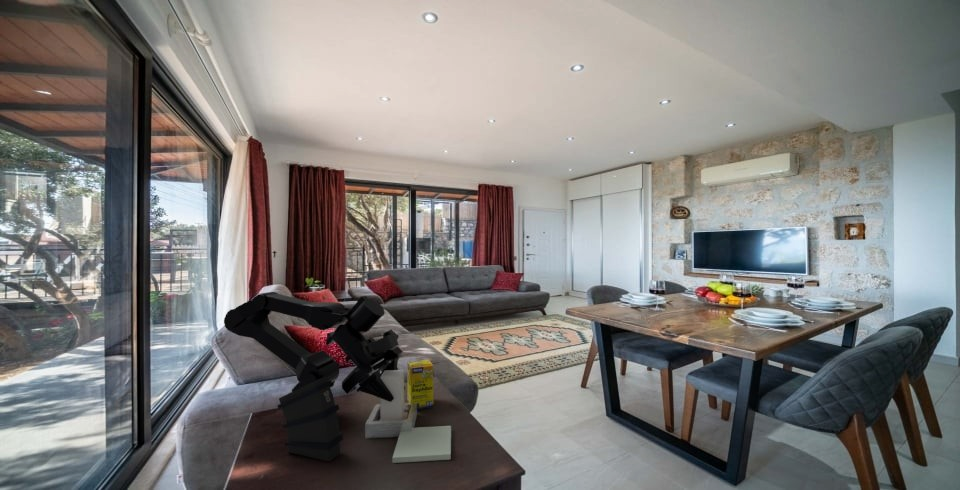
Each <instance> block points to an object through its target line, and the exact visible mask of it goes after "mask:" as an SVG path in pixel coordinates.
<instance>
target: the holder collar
mask: <svg viewBox="0 0 960 490" xmlns="http://www.w3.org/2000/svg"><path fill="white" fill-rule="evenodd" d="M407 412H408V418H407V420H390V421H379V420H380V418H381V403H377V404H375V405H374V407H373V408H372V411H371V412H370V414H369V417H368V419H367V420H366V422H365V425H364V434H365V435H364V437H365V439H377V438H378V439H380V438H397V437H398V438H399V435H400V432H407V431H412V429H413V428H415V426H416V425H415V424H416V420H417V417H418V410H417V402H413V403H408V402H404V413H407Z"/></svg>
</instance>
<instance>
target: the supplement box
mask: <svg viewBox="0 0 960 490" xmlns="http://www.w3.org/2000/svg"><path fill="white" fill-rule="evenodd" d="M406 381H407V403H413V402H417V411H419V410H422V409H423V410H425V409H429V408H431V409H432V408H434V364H433V362H431V361H430V359H422V360H413V361H412V360H411V361H407V380H406Z"/></svg>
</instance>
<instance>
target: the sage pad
mask: <svg viewBox="0 0 960 490" xmlns="http://www.w3.org/2000/svg"><path fill="white" fill-rule="evenodd" d="M451 455H452V425H441V426H440V425H439V426H436V425H435V426H422V427H421V426H420V427H419V426H418V427H414V428H413V429H412V431H407V432H400V435H399V437H398V438H397V442H396V445H395V447H394V451H393V453H392V464H396V463H400V464H401V463H413V462H415V463H417V462H429V461H430V462H431V461H447V460H448V461H449V460H451V459H452V458H451Z"/></svg>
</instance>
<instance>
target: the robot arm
mask: <svg viewBox="0 0 960 490" xmlns="http://www.w3.org/2000/svg"><path fill="white" fill-rule="evenodd" d="M272 312H273V313H274V312H275V313H278V314H283V315H286V316H291V317H295V318H298V319H302V320H303V321H305V322H306V323H307V324H308V325H310V326H311V327H313V328H315V329H316V330H319V331H326V330H328V329H332V328H335V327H336V328H335V329H334V330H333V331H331V332H327V333H326V340H325V345H326V346H330V345H332V344H334V343H335V344H336V345H337V346H338V347H339V348H340V349H341V351H342V352H343V353H344V354H345V355H346V357H345V358H344V361H346V363H350V362H352V363H353V364H354V366H355V367H354V368H353V369H352V371H350V373H349V374H347V376H346V377H345V378H344V379H343V380H342V381H341V389H342V391H344V393H345V394H346V395H347V396H348V395H349V394H351V393H352V392H354V391H355V390H356V392H357V393H359V392H362V393H365V394H368V395H371V396H375V397H377V398H379V399H380V398H381V399H384V400H387V401H389V402H391V401H392V400H393V399H394V397H393V396H392V394H391V392H390V391H389V390H388V388H387V387H386V385H385V384H384V383H383V381H382V380H381V378H380V377H381V376H382V374H383V372H384V371H386V370H399V368H398V362H399V360H400V355H402V354H403V350H402V349H401V348H400V347H399V341H398V339H399V338H400V337H399V334H397V333H396V332H395V331H393V329H389V330H387V331H385V332H383V333H382V337H381V338H379V339H377V340H375V339H374V338H373V337H369V338H367V337H366V336H365V334H364V333H363V332H365V333H366V332H370V331H371V329H372V328H373V327H374V326H375V325H376V323H378V321H380V319H382V317H383V316H384V315H385V313H386V311H385V309H384V308H383V306H382V305H381V304H380V303H379V302H377V301H376V300H374V299H371V298H369V297H368V296H367V295H364V296H360V297H359V298H358V300H357V301H356V303H355V304H354V305H353V306H352V308H351V307H345V304H343V303H341V302H335V301H334V302H331V301H329V302H328V301H327V302H326V301H325V302H321V301H320V302H315V301H314V302H313V301H308V300H306V299H302V298H297V297H293V296H288V295H284V294H280V293H278V292H276V291H268V292H262V293H258V294H257V295H255V296H254V297H253V298H251V299H249V300H247V301H246V302H244V303H242V304H240V305H239V306H236V307H235V308H232V309H229V310H228V311H227V313H225V316H224V318H223V324H224V327H225V328H226V330H227V331H229V332H230V333H231V334H232V333H233V334H234V335H237V336H240V337H245V338H250V339H253V340H254V341H256V342H257V343H258V344H260V345H261V346H262V347H264V348H265V349H267V350H268V351H269V352H271V354H273V355H275V356H276V357H277V358H279V360H282V361H283V362H284V363H285V364H287V365H288V366H289V367H291V368H292V369H293V370H294V372H295V376H296V379H297V381H298V383H297V384H296V385H295V386H294V387H293V388H292V389H291V392H293V391H295V390H297V389H299V388H301V387H303V386H306V385H308V384H310V383H312V382H314V381H316V380H318V379H320V378H323V377H325V376H326V377H327V380H328V381H330V380H331V382H332V384H331V385H329V386H330V389H331V388H333V387H334V385H335V383H336V381H337V380H338V378H339V375H340V368H339V363H338V362H337V361H336V358H335V357H333V356H330V354H328V353H327V351H325V350H320V351H317V352H315V353H312V352H310V351H309V350H307V349H306V348H304V347H303V346H302V345H301V344H299V343H297V342H296V341H295V340H293V339H292V338H290V336H288V335H287V334H285V333H283V331H281V330H279V329H278V328H277V327H276V326H274V325H272V324H271V322H270V319H269V318H270V317H269V316H270V314H272ZM357 385H359V387H357ZM405 390H406V386H405V384H404V391H405Z"/></svg>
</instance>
